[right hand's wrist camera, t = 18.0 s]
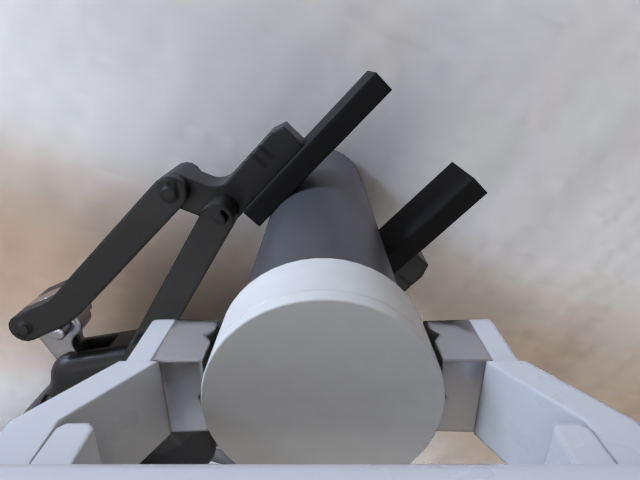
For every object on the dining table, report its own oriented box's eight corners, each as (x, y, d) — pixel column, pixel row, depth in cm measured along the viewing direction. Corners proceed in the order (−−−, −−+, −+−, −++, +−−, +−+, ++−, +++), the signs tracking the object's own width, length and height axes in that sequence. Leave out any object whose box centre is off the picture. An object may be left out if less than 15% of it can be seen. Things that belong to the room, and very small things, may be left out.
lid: (460, 372, 10) (488, 432, 9) (297, 455, 11) (292, 522, 10) (354, 214, 9) (362, 250, 7) (177, 325, 10) (148, 379, 8)
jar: (281, 223, 24) (225, 451, 10) (282, 146, 22) (218, 287, 8) (358, 227, 24) (409, 458, 10) (365, 150, 22) (437, 297, 8)
